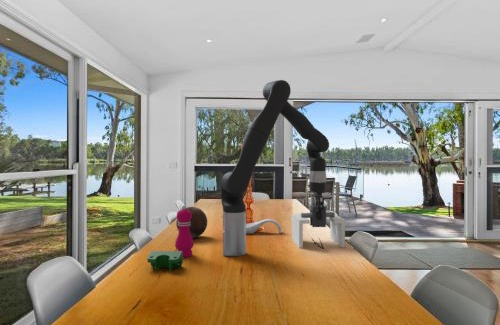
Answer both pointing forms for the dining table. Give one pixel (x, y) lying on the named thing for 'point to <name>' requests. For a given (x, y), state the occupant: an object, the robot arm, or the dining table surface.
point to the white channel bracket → (335, 228)
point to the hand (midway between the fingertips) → (317, 218)
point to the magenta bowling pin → (184, 232)
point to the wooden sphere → (196, 222)
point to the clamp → (165, 259)
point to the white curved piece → (254, 226)
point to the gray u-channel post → (313, 219)
